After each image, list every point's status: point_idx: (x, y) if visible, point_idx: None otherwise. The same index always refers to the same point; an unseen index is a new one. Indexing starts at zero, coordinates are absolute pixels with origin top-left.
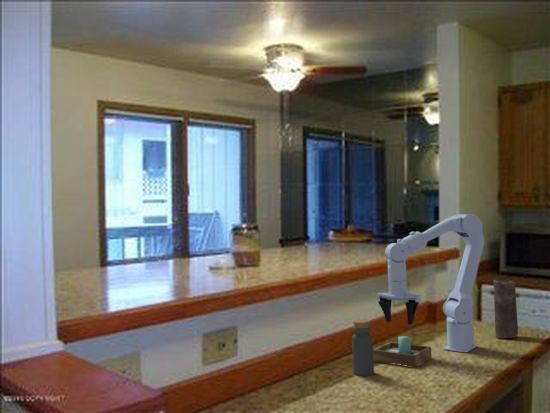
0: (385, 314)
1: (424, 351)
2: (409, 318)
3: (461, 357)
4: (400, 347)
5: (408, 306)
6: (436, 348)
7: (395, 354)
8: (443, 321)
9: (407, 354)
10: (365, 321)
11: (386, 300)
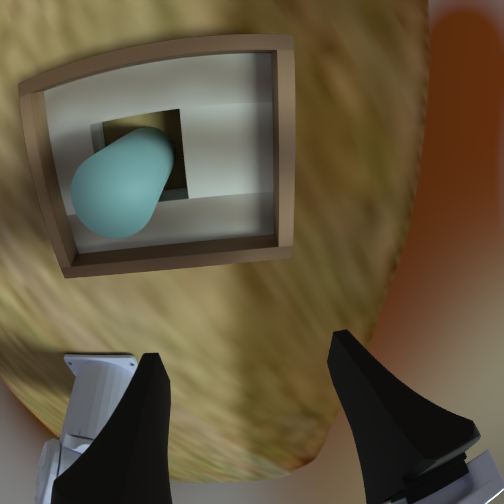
0: (373, 370)
1: (43, 205)
2: (130, 387)
3: (36, 310)
4: (134, 139)
5: (93, 481)
6: (164, 359)
7: (120, 50)
8: (292, 468)
9: (51, 77)
10: None
11: (406, 489)
